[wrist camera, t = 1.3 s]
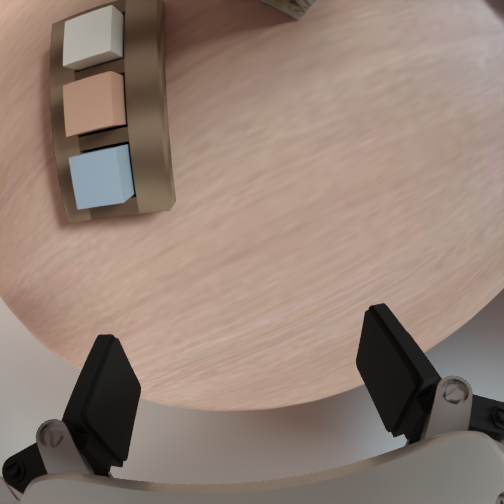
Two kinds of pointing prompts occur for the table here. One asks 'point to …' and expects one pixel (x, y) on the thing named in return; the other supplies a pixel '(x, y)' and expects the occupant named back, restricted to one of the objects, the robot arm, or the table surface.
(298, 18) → the coffee box
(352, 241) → the table surface
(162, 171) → the key panel
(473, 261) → the table surface
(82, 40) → the key white
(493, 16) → the table surface
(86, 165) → the key blue
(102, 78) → the key terracotta
